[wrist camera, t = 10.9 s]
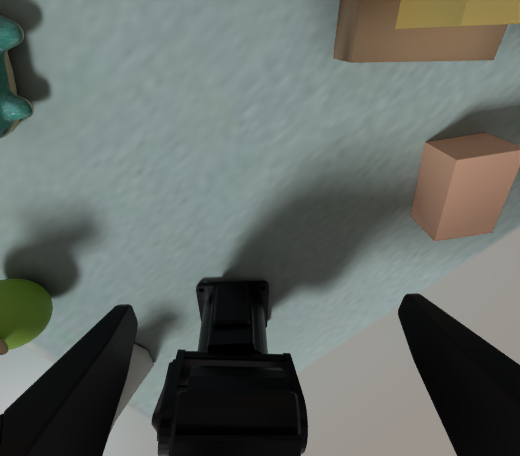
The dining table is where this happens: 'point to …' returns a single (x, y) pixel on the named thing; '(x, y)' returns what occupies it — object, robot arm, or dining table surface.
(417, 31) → the walnut block
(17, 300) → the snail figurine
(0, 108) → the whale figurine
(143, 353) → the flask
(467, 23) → the mustard brick
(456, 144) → the terracotta brick
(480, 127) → the dining table surface
